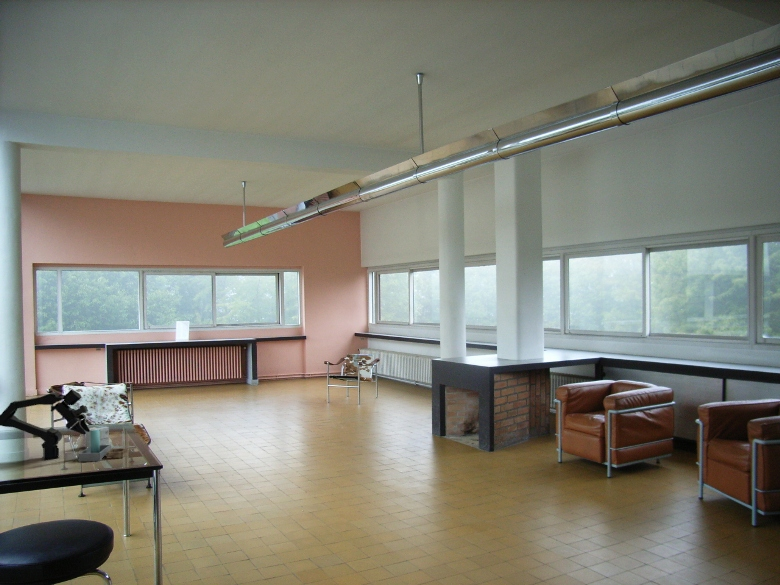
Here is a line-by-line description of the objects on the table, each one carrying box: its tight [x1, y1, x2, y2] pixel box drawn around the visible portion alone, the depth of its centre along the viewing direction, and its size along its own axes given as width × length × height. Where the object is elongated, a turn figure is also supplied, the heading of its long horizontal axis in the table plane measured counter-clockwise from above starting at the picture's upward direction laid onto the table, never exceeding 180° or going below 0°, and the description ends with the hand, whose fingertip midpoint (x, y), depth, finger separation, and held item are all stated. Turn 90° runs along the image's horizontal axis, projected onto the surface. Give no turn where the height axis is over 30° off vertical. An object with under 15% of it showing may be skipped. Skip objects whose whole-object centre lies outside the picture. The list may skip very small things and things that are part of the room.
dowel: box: [90, 430, 100, 453], centre depth 329 cm, size 4×4×13 cm
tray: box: [78, 444, 112, 462], centre depth 329 cm, size 11×18×4 cm, turn 7°
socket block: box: [106, 447, 129, 459], centre depth 330 cm, size 8×8×3 cm
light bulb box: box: [84, 425, 110, 448], centre depth 350 cm, size 11×7×11 cm, turn 146°
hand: (87, 432), depth 330 cm, fingers open, 9 cm apart
